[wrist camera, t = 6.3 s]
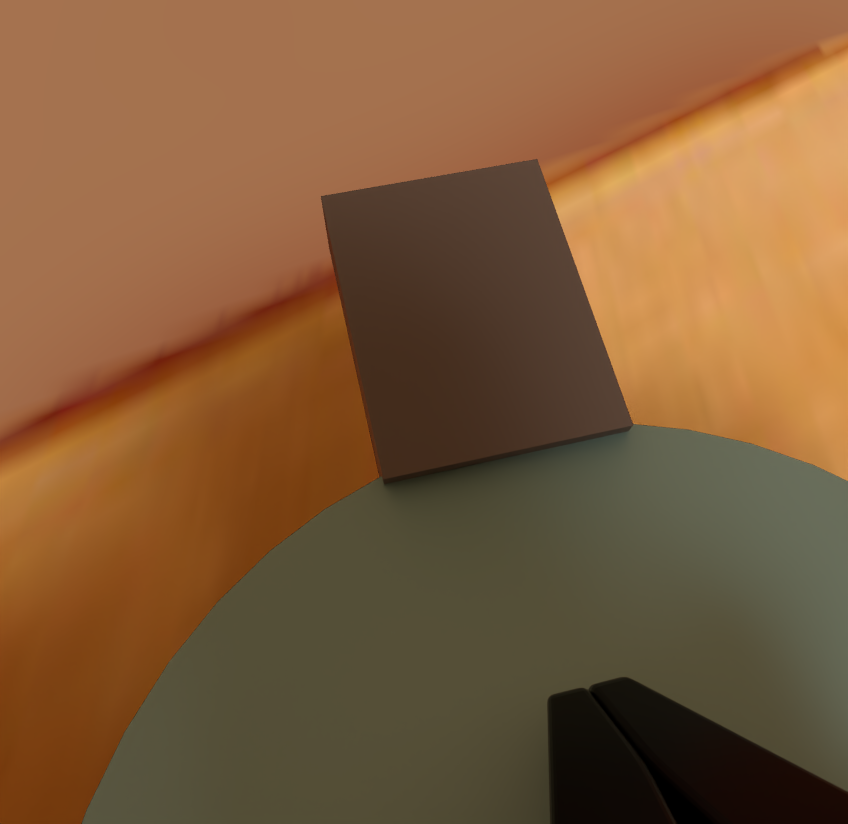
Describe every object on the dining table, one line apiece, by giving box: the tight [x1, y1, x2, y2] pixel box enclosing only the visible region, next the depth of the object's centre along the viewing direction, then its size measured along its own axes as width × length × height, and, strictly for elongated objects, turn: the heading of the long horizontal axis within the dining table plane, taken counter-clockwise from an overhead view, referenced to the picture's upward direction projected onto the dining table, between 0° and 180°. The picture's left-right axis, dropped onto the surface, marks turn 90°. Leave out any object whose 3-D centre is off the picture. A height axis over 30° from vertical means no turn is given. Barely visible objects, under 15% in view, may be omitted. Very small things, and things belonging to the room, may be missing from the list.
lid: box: [82, 159, 848, 824], centre depth 8 cm, size 15×12×1 cm
